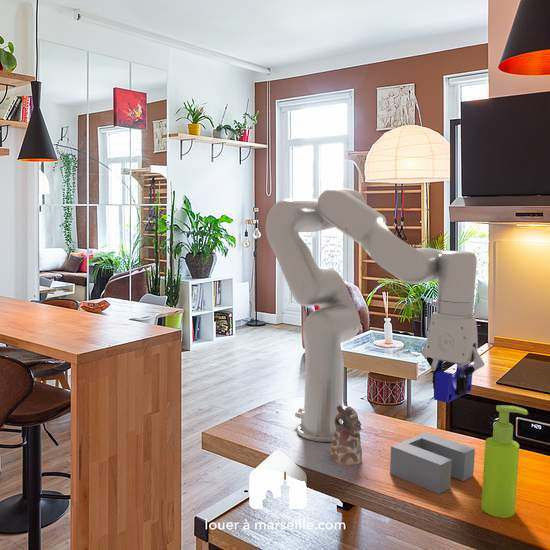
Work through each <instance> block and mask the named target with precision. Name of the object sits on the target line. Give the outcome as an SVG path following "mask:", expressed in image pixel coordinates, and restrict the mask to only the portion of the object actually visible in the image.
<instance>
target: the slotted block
mask: <svg viewBox="0 0 550 550" xmlns="http://www.w3.org/2000/svg"><path fill="white" fill-rule="evenodd" d="M475 454H476V448H473V447H472V446H468V445H466V444H463V443H460V442H457V441H454V440H451V439H448V438H445V437H441V436H439V435H436V434H432V433H430V432H428V431H426V432H423V433H420V434H418V435H416V436H415V435H414V436H413V437H410V438H409V439H408V438H407V439H406V440H402V441H400V442H398V443H396V444H393V445H391V446H390V462H389V463H390V464H389V465H390V466H389V474H390V475H393V476H395V477H398V478H399V479H402V480H405V481H407V482H409V483H412V484H414V485H416V486H419V487H421V488H424V489H426V490H428V491H431V492H433V493H435V494H438V495H441V494H442V493H444V492H446V491H447V490H450V489H451V483H452V479H451V478H454V479H457V480H459V481H462V482H465V481H466V480H468V479H470V478H472V477H474V470H475V456H476V455H475Z"/></svg>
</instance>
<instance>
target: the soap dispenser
mask: <svg viewBox="0 0 550 550" xmlns="http://www.w3.org/2000/svg"><path fill="white" fill-rule="evenodd" d="M495 406H496V407H495V409H496V412H498V413H499V414H498V420H496V421H494V423H493V432H492V436H489V437H487V438H486V439H485V442H484V443H485V444H484V457H483V458H484V459H483V461H484V462H483V474H482V491H481V492H482V494H481V505H480V506H481V509H482V511H483V512H484V513H486V514H487V513H488V514H487V515H489V514H490V515H489V516H493V517H496V518H500V517H501V518H500V519H509V518H513V517H514V516H515V514H516V500H517V484H518V471H519V459H520V458H519V457H520V456H519V455H520V444H519V442H518V441H515V440H514V439H513V434H514V425H513V424H512V423H511V422H509V421H510V413H517V414H521V415H524V416H527V415H528V414H529V412H528V410H527V409H526V408H523V407H519V406H515V405H504V404H502V405H500V404H498V405H497V404H496V405H495Z"/></svg>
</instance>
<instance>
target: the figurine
mask: <svg viewBox="0 0 550 550" xmlns="http://www.w3.org/2000/svg"><path fill="white" fill-rule="evenodd" d="M337 410H338V412H339V414H338V415H337V416H336V418H335V426H336V430H335V433H334V436H333V440H332V442H331V445H330V451H329V453H330V459H331V460H332V462H334V463H336V464H338V465H341V466H343V465H345V466H351V465H352V466H353V465H354V466H355V465H359V464H361V463H362V462H363V460H362V459H363V458H362V457H363V456H362V455H363V448H362V443H361V441H362V440H361V435H360V434H361V433H360V431H361V430H362V423H361V422H360V419H359V415H358V413H357V411H356V410H355V409H354V408H353V407H351V406H347V407H345V409H344V408H343V406H342V407H341V406H340V405H339V406H337ZM339 419H342V424H340V423H339Z"/></svg>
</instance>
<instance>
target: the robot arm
mask: <svg viewBox="0 0 550 550" xmlns="http://www.w3.org/2000/svg"><path fill="white" fill-rule="evenodd" d="M333 228H334V229H335V228H336V229H337V230H339V231H340V232H341V233H343V234H345V235H346V236H348V238H350V239H351V240H353V241H354V242H356V243H357V244H359V245H360V246H361V247H362V248H363V250H364V251H365V252H366V253H367V255H368V256H369V257H370V258H371V259H372V260H373V262H374V263H375V264H377V265H378V266H379V267H380V268H381V269H384V271H386V272H387V273H389V274H390V275H392V276H393V277H395V278H396V279H398V280H400V281H402V282H404V283H406V284H409V285H416V284H417V285H418V284H421V283H427V282H435V281H437V283H438V284H437V296H436V300H435V299H433V300H432V302H431V306H432V307H435V310H436V311H434V312H432V314H431V317H430V321H429V325H428V330H427V336H426V344H425V346H424V347H423V348H422V349H421V351H420V354H421V355H422V357H423V358H424V359H425V360H426V362H427V363H428V364H429V366H430V370H431V371H432V389H433V390H435V375H436V372H437V371H443V372H445V371H444V369H443V366H444V363H445V362H446V363H450V364H454V365H457V364H458V369H459V377H457V382H456V395H458V396H460V395H462V396H464V395H466V394H467V393H466V391H467V387H468V376H470V375H471V374H472V375H473V374H474V373H476V371H477V370H480V369H481V368H483V367H485V362H484V361H483V358H482V357H481V356H480V354H479V352H478V348H479V346H478V344H479V343H478V340H479V339H478V337H479V336H478V325H477V319H476V316H474V304H475V303H474V302H475V290H476V276H477V275H476V274H477V264H478V263H477V261H478V260H477V256H476V254H475V253H474V252H471V251H466V250H465V251H464V250H443V249H437V248H432V247H418V248H415V247H413V246H411V245H410V244H408V243H407V242H405V241H404V240H403V239H401V238H399V237H398V236H397V235H395V233H393V232H392V231H391V230H390V229H389V228H388V226H387V219H386V217H385V215H383V213H380V212H379V211H377V210H375V208H373V207H371V206H369V205H368V204H367V201H366V199H365V197H364V196H363V194H362V193H360V192H359V191H357V190H355V189H352V188H346V187H345V188H344V187H330V188H328V189H325V190H324V191H323V192H321V194H320V195H319V197H317V198H314V199H313V198H312V199H311V198H294V197H290V198H289V197H288V198H283V199H281V200H279V201H277V202H275V203H274V204H273V205H272V207H270V209H269V211H268V213H267V217H266V220H265V234H266V239H267V241H268V244H269V246H270V248H271V250H272V252H273V254H274V256H275V258H276V260H277V262H278V264H279V266H280V269H281V271H282V274H283V277H284V278H285V281H286V283H287V285H288V287H289V291H290V292H291V295H292V297H293V298H294V301H295V302H296V303H297V304H298V305H300V306H302V307H313V306H318V307H319V308H318V309H315V310H314V311H312V312H311V313H309V314H308V315H307V316H306V317H305V320H304V322H303V326H302V337H303V344H304V345H303V346H304V352H305V353H304V355H305V356H304V357H305V363H304V365H305V367H304V373H305V374H304V377H305V378H304V379H305V380H304V404H303V405H304V407H299V409H298V411H296V412H295V413H294V415H295V418H299V419H300V423H299V424H298V425H297V434H298V435H299V436H300V437H302V438H304V439H306V440H310V441H313V442H321V443H329V442H330V443H332V440H333V436H334V433H335V430H336V426H335V418H336V416H337V415H338V414H339V412H338V410H337V406H339V405H340V406H341V407H342V408H343V406H344V405H343V400H344V377H345V376H344V375H345V372H344V371H345V370H344V369H345V365H344V362H345V361H344V356H343V350H342V346H341V344H342V343H344V342H346V341H350V340H351V339H353V338H355V337H356V336H357V335H358V333H359V331H360V330H361V329H360V328H361V318H360V314H359V311H358V310H357V307H356V304H355V302H354V300H353V298H352V296H351V294H350V292H349V290H348V289H349V288H348V287H347V285H346V283H345V280H344V279H343V278H342V275H340V273H338V272H337V271H336V270H335V269H334V268H331V267H329V266H319V265H317V262H316V261H315V259H314V257H313V255H312V252H311V250H310V248H309V246H308V245H307V243H306V242H305V241H304V240H303V239H302V237H301V236H300V233H313V232H315V233H316V232H321V231H324V230H325V231H326V230H329V229H333ZM470 363H473V364H471V365H472V366H470V365H469V364H470ZM465 393H466V394H465ZM463 394H464V395H463ZM460 397H461V396H460ZM339 423H340V424H343V420H342V419H339Z"/></svg>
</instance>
